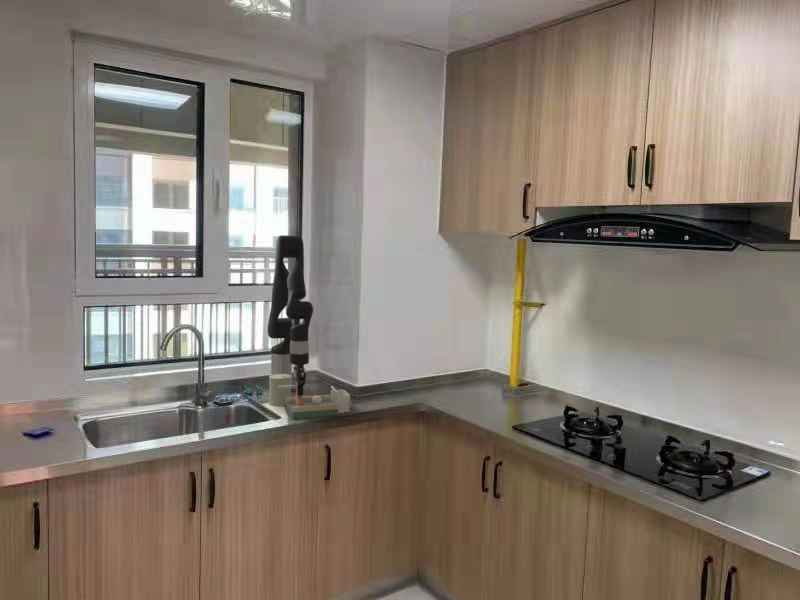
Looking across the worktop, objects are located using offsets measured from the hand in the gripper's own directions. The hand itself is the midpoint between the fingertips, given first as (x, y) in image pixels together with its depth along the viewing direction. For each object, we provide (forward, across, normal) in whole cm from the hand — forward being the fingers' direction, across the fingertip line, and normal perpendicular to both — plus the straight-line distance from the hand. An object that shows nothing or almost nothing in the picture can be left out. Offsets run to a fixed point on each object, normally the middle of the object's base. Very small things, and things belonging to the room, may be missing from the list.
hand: (299, 394), depth 244 cm
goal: (+8, 0, +16) cm, 18 cm away
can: (+8, -17, -5) cm, 19 cm away
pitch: (+8, 0, +5) cm, 9 cm away
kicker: (+5, 0, -2) cm, 5 cm away
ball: (+3, 0, +7) cm, 8 cm away
